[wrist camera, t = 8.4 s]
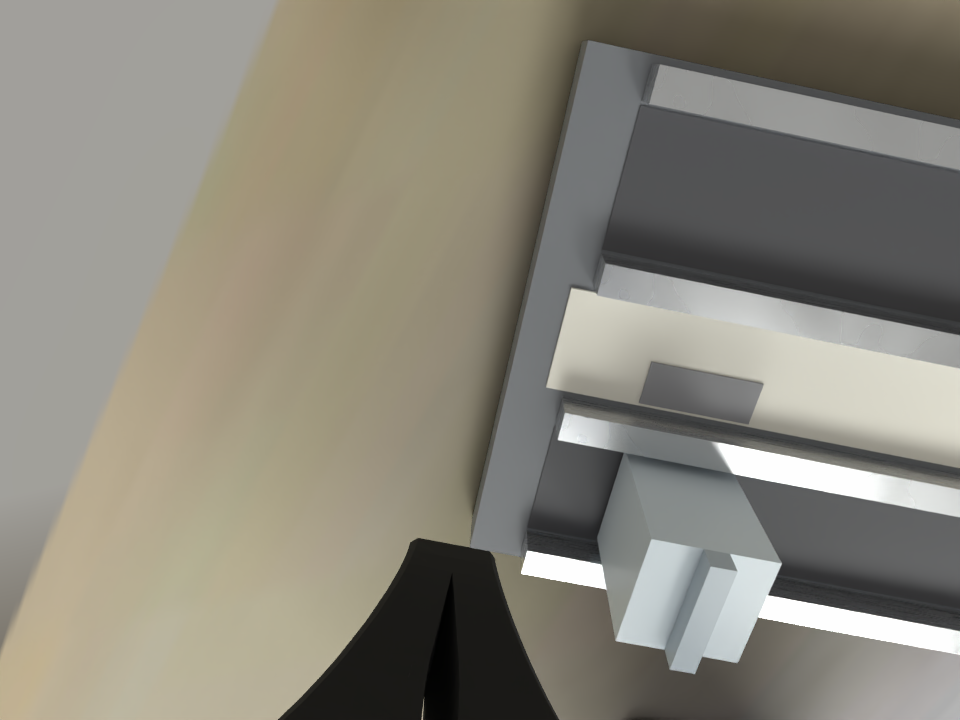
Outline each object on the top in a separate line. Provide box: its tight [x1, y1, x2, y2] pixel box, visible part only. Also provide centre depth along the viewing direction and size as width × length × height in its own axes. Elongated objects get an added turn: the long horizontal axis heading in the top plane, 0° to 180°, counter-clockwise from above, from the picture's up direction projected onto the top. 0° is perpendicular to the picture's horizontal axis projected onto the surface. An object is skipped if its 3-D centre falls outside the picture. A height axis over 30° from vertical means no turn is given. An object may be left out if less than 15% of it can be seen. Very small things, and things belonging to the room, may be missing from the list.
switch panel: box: [470, 40, 960, 654], centre depth 19 cm, size 14×22×2 cm, turn 79°
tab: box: [597, 453, 782, 674], centre depth 18 cm, size 3×3×5 cm
